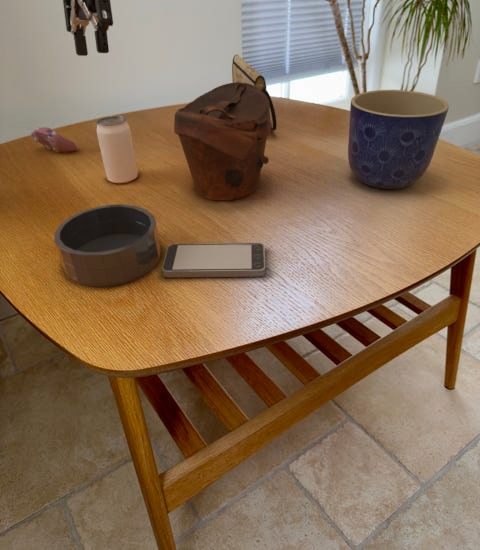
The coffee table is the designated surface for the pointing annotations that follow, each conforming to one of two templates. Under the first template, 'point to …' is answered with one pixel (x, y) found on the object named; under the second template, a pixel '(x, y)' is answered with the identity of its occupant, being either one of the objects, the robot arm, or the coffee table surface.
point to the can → (117, 149)
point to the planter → (393, 136)
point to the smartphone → (214, 260)
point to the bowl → (108, 245)
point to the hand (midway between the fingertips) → (92, 54)
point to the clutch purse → (251, 80)
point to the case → (225, 139)
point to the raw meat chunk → (52, 140)
